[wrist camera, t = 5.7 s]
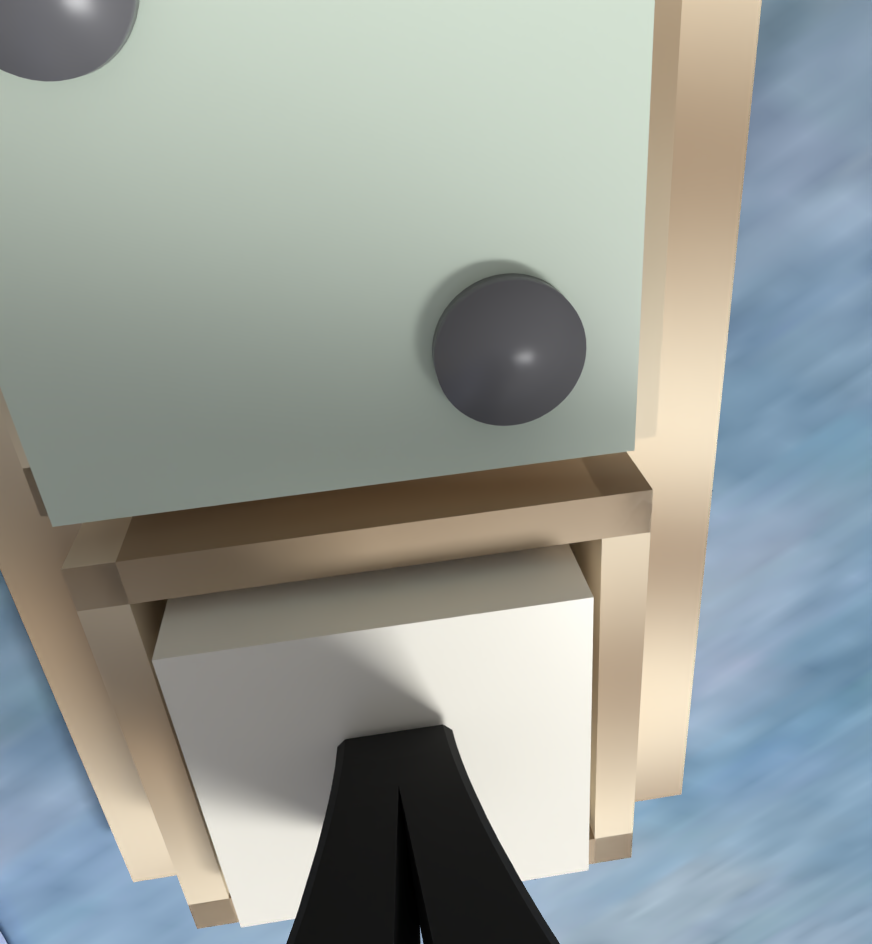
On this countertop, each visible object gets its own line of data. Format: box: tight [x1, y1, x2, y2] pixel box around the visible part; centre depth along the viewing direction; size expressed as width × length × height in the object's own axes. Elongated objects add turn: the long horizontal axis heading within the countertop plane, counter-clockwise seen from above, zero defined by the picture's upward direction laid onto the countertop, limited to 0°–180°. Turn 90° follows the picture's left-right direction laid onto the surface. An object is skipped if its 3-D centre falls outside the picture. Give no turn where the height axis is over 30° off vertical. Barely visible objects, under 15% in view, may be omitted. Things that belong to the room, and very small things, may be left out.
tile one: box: [152, 544, 594, 927], centre depth 11 cm, size 5×5×3 cm
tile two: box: [0, 0, 655, 527], centre depth 7 cm, size 5×5×3 cm
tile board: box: [0, 0, 762, 929], centre depth 8 cm, size 24×10×3 cm, turn 5°
